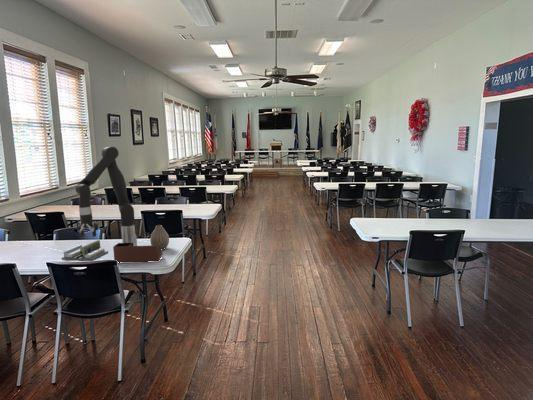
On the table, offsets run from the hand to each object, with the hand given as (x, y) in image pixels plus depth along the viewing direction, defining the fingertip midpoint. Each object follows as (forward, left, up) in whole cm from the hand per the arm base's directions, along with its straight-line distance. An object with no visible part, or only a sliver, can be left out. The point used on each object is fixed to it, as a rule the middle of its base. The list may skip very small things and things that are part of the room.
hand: (88, 236), depth 246 cm
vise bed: (+4, 0, -14) cm, 14 cm away
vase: (-41, -21, -14) cm, 49 cm away
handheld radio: (+1, 0, -13) cm, 13 cm away
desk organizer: (-39, +5, -14) cm, 42 cm away
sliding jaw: (+11, 0, -13) cm, 17 cm away
